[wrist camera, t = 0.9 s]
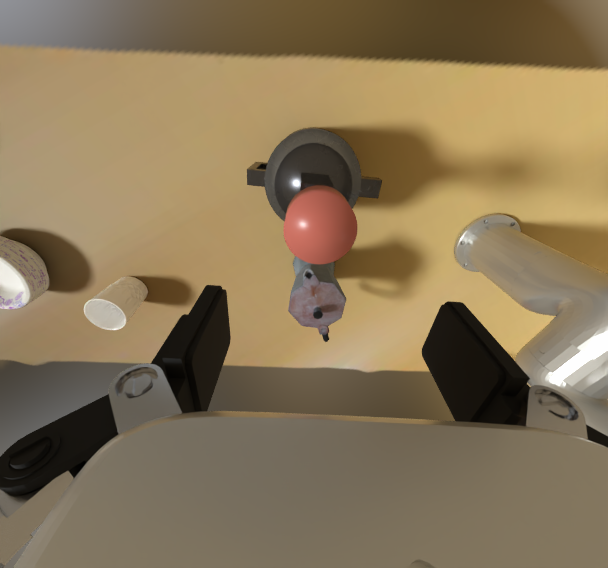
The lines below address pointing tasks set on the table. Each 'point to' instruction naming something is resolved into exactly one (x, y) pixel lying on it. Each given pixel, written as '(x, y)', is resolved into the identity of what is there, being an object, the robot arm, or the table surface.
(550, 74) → the table surface
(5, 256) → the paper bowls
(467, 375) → the robot arm
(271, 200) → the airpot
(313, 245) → the red rounded piece
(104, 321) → the white cup
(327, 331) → the moka pot
